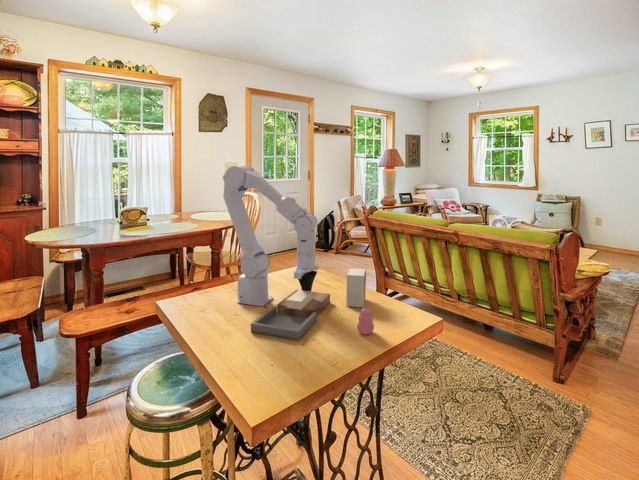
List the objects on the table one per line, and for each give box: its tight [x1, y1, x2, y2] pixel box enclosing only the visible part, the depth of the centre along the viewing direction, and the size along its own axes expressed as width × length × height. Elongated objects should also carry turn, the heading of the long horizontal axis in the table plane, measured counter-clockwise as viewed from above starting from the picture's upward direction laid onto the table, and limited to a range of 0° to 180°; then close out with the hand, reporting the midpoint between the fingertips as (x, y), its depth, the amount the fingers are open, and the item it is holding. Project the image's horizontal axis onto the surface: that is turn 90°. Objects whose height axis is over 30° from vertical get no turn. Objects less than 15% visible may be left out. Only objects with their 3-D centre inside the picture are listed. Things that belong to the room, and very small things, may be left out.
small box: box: [346, 267, 367, 308], centre depth 118 cm, size 8×6×10 cm
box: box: [250, 305, 318, 342], centre depth 102 cm, size 14×13×2 cm
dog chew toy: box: [356, 306, 375, 335], centre depth 97 cm, size 4×4×7 cm
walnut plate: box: [276, 289, 331, 318], centre depth 114 cm, size 12×14×3 cm
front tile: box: [287, 295, 307, 310], centre depth 108 cm, size 4×4×2 cm
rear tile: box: [293, 289, 313, 304], centre depth 112 cm, size 4×4×2 cm
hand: (306, 294), depth 116 cm, fingers closed
